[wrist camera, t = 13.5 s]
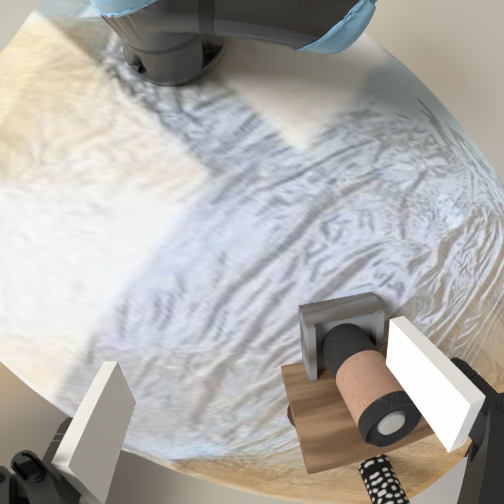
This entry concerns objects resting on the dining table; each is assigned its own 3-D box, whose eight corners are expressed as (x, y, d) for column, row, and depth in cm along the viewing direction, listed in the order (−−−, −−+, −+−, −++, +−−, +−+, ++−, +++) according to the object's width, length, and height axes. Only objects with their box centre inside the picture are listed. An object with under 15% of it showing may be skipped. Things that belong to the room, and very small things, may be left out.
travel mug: (364, 316, 45) (428, 393, 26) (363, 355, 47) (416, 435, 28) (318, 326, 45) (366, 416, 26) (320, 365, 47) (360, 456, 28)
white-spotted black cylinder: (364, 457, 61) (389, 515, 41) (391, 451, 61) (419, 505, 42) (354, 474, 63) (375, 529, 43) (380, 468, 63) (404, 520, 44)
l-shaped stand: (274, 309, 47) (305, 406, 26) (390, 287, 48) (470, 354, 27) (282, 374, 51) (307, 474, 29) (385, 351, 51) (445, 428, 30)
